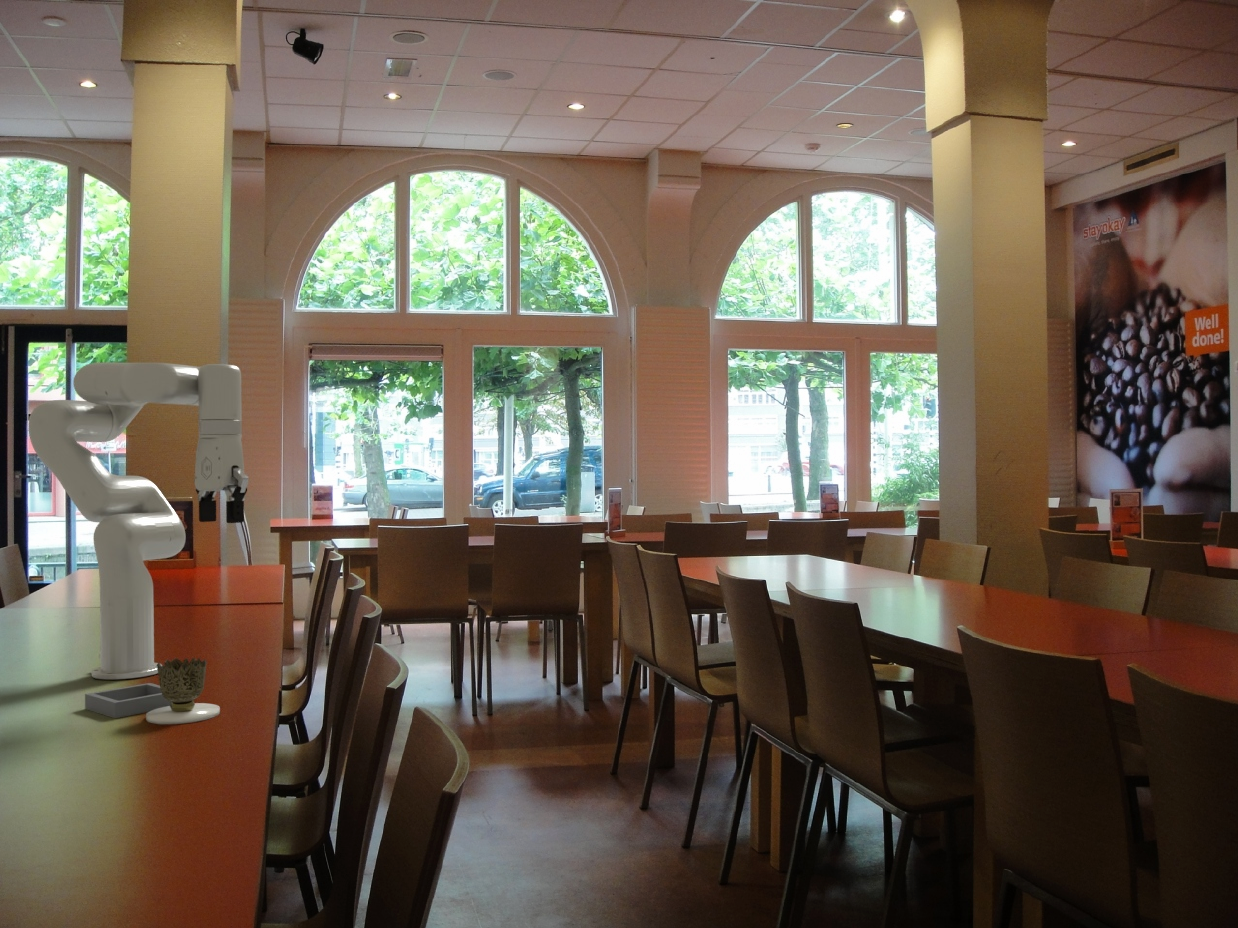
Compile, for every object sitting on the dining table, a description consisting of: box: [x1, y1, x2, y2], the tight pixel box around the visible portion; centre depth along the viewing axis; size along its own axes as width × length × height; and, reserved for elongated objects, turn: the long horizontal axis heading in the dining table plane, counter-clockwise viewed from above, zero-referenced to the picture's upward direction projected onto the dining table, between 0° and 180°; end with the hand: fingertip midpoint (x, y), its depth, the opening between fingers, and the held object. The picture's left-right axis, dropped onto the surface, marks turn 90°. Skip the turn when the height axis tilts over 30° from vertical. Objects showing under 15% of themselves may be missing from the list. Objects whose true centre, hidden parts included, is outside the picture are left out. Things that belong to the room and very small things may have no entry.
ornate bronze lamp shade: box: [157, 657, 208, 712], centre depth 165 cm, size 8×7×8 cm
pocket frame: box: [84, 682, 172, 719], centre depth 172 cm, size 11×11×2 cm
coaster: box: [145, 702, 221, 725], centre depth 165 cm, size 11×11×1 cm
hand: (221, 522), depth 190 cm, fingers open, 9 cm apart
